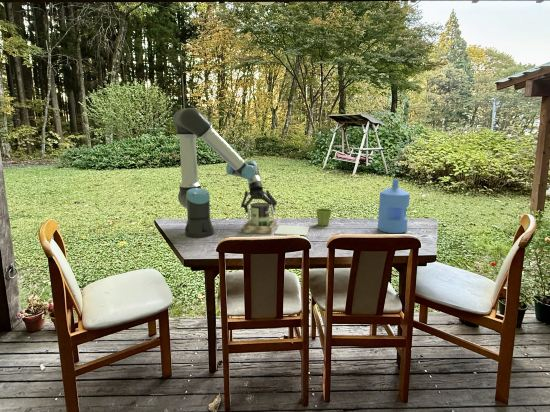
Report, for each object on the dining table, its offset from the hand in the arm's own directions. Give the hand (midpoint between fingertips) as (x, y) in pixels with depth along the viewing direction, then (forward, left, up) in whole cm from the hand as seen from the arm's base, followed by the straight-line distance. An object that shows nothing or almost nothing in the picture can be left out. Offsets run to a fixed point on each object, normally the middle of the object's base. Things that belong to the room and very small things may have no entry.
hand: (261, 216), depth 211 cm
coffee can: (-1, 0, -8) cm, 8 cm away
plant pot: (+33, +16, -8) cm, 38 cm away
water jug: (+71, +12, -8) cm, 73 cm away
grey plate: (+17, 0, -7) cm, 19 cm away
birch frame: (-1, 0, -7) cm, 7 cm away
